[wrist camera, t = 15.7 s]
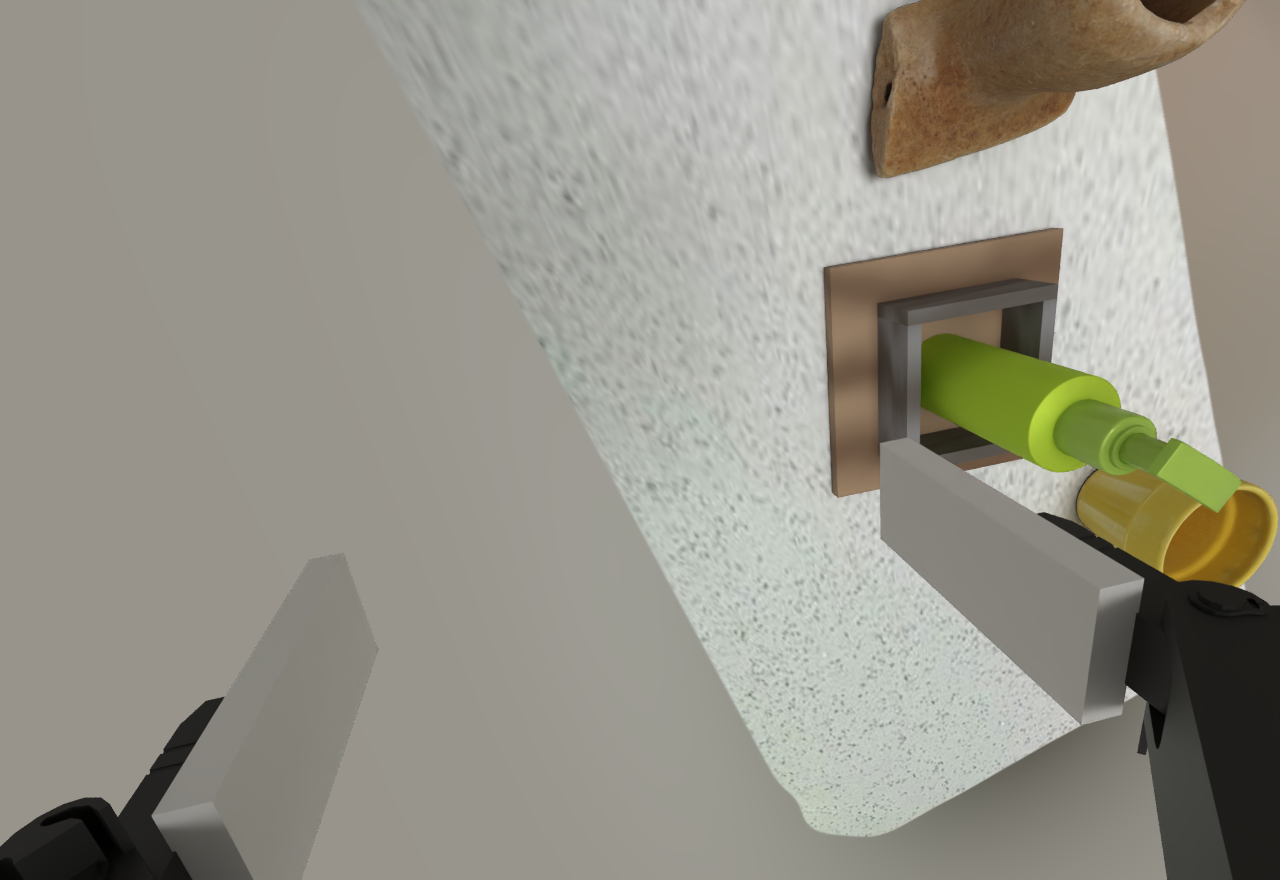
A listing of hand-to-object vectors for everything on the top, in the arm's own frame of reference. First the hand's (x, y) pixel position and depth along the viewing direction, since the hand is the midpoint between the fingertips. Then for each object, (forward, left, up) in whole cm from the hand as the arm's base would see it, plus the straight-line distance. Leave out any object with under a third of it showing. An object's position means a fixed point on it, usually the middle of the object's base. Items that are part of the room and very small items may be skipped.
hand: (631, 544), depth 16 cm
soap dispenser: (+8, +28, -30) cm, 42 cm away
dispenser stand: (+8, +28, -31) cm, 42 cm away
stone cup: (-13, +29, -31) cm, 44 cm away
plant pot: (+23, +45, -31) cm, 59 cm away
